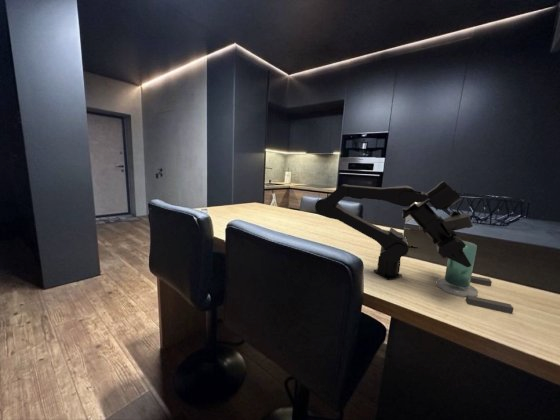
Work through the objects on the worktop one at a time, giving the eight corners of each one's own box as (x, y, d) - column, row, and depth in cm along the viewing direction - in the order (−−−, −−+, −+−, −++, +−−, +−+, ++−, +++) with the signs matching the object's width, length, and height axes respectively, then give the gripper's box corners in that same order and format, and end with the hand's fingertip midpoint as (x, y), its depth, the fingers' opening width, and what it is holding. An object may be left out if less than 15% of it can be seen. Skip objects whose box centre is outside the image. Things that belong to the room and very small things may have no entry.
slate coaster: (463, 300, 64) (463, 298, 64) (428, 283, 73) (428, 281, 73) (485, 293, 68) (486, 291, 68) (449, 277, 77) (450, 276, 77)
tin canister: (461, 288, 67) (468, 248, 64) (440, 279, 72) (446, 241, 70) (474, 284, 69) (482, 245, 66) (452, 275, 74) (459, 239, 72)
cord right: (467, 303, 63) (468, 298, 63) (465, 300, 65) (466, 295, 64) (512, 313, 59) (513, 308, 59) (508, 309, 61) (510, 304, 61)
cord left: (455, 279, 76) (455, 275, 76) (453, 276, 78) (454, 272, 78) (490, 286, 72) (491, 281, 72) (488, 283, 74) (489, 278, 74)
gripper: (462, 208, 59) (510, 259, 57) (448, 199, 76) (485, 237, 73) (421, 234, 64) (464, 281, 62) (416, 219, 81) (450, 256, 78)
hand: (466, 262), depth 68 cm, fingers closed on tin canister, 6 cm apart
